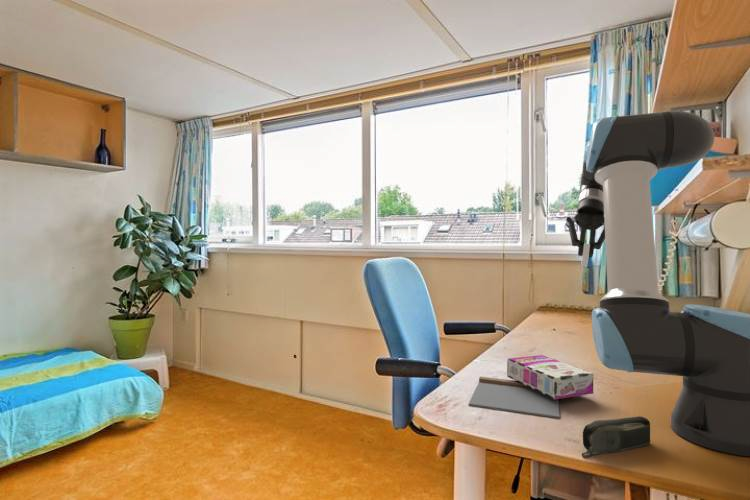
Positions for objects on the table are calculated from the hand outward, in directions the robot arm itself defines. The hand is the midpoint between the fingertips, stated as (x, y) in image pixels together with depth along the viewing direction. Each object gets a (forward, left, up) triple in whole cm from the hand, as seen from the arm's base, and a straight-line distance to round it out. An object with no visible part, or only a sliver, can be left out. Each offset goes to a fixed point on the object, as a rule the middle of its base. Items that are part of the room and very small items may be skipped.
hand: (584, 263), depth 117 cm
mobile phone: (-48, -1, -30) cm, 56 cm away
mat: (-31, +16, -29) cm, 45 cm away
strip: (-22, +16, -29) cm, 40 cm away
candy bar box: (-16, +15, -26) cm, 34 cm away
